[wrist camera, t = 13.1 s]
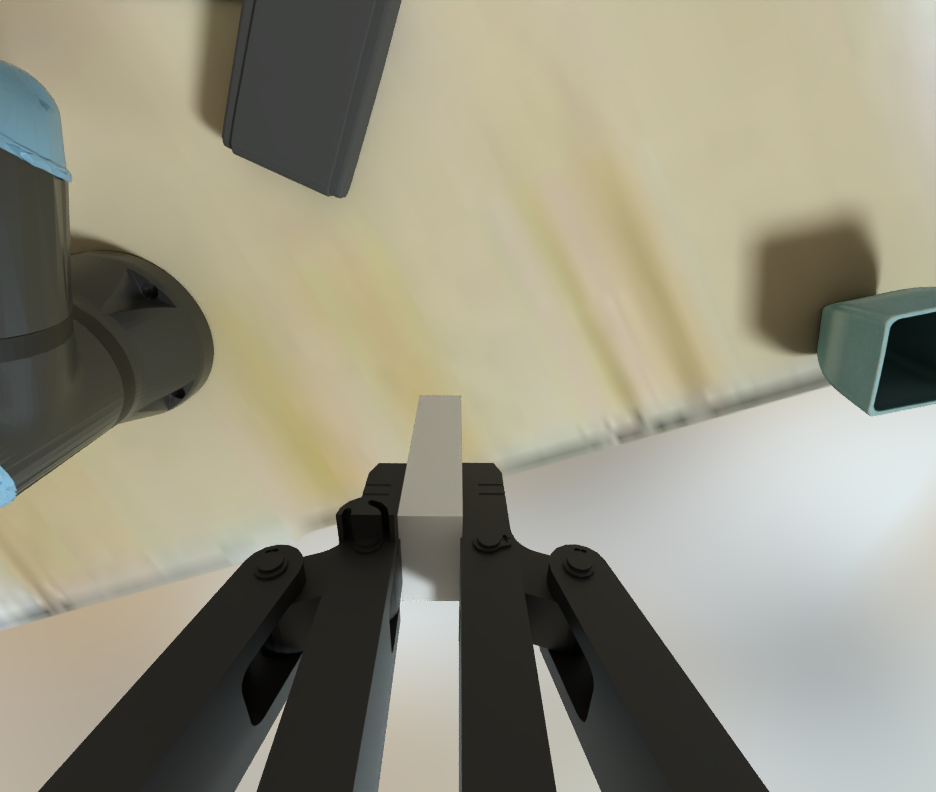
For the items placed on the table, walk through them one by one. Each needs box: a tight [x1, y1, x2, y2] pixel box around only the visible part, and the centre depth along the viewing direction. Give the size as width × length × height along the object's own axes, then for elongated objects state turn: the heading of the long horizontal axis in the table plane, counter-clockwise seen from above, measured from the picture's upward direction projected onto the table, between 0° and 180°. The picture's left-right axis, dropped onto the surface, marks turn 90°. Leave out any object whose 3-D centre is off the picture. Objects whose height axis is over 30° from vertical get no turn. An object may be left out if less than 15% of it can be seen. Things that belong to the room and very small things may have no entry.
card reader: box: [222, 0, 401, 198], centre depth 32 cm, size 9×4×15 cm
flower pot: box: [817, 287, 936, 416], centre depth 39 cm, size 9×9×9 cm
